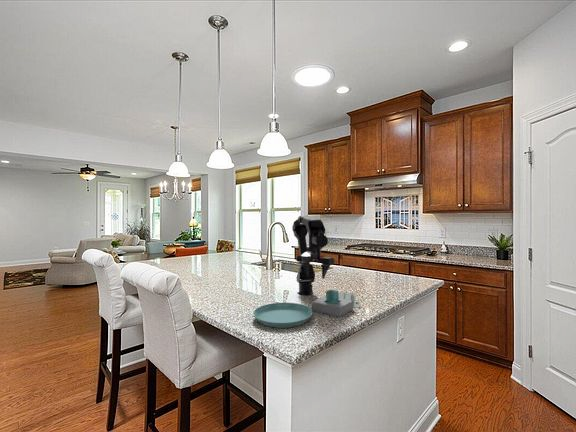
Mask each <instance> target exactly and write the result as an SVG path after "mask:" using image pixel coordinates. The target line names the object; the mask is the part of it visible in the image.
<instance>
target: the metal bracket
mask: <svg viewBox="0 0 576 432" xmlns="http://www.w3.org/2000/svg"><path fill="white" fill-rule="evenodd" d="M356 296H357V294H356V293H355V292H345V290H344V291H343V292H340V291H338V297H339V298H340V299H346V300H351V301H353V309H361V304H360V303H357V299H356Z"/></svg>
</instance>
